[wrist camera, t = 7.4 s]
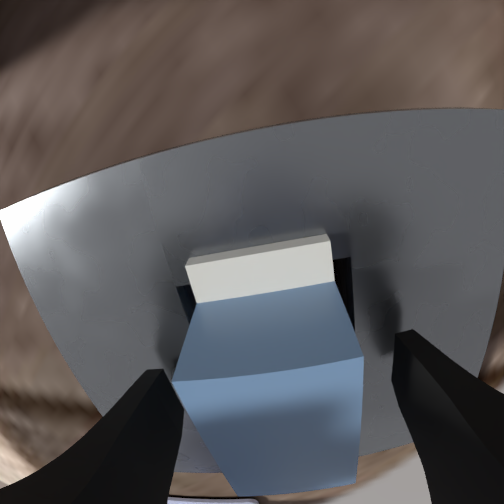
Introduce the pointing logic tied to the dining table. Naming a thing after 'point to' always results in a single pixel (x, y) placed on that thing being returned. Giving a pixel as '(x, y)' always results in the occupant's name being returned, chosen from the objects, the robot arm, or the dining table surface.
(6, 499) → the robot arm
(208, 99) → the dining table surface
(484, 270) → the plate
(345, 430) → the block
